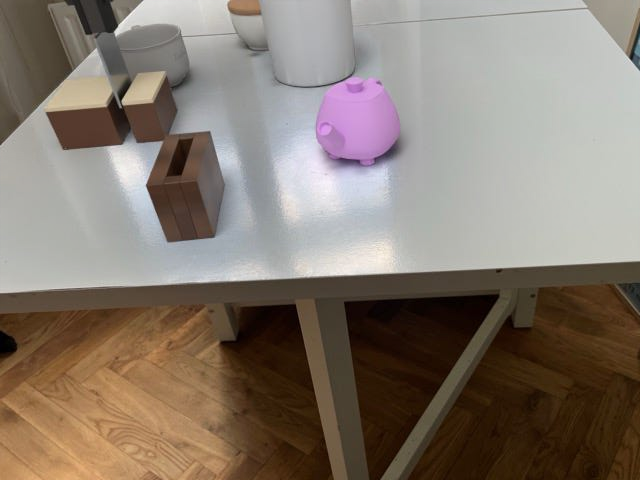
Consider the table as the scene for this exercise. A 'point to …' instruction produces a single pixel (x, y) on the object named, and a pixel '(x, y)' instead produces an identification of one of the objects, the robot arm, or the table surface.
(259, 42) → the trinket box
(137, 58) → the teacup
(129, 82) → the knife
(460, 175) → the table surface
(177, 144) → the knife block
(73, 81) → the cake
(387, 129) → the teapot
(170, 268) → the table surface
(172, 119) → the cake slice
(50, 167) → the table surface
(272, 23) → the utensil holder
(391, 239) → the table surface
